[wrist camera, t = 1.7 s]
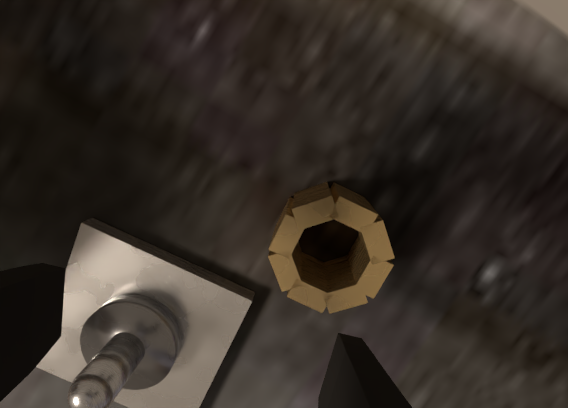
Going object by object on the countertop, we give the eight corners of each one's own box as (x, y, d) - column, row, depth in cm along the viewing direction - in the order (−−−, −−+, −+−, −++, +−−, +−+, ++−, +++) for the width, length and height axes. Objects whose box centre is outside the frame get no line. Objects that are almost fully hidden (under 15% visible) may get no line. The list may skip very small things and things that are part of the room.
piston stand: (255, 292, 19) (231, 367, 13) (191, 418, 22) (148, 531, 16) (92, 217, 19) (-6, 260, 13) (46, 354, 21) (-55, 445, 15)
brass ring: (393, 211, 18) (413, 231, 14) (347, 291, 19) (355, 328, 16) (303, 168, 18) (303, 178, 14) (262, 252, 19) (253, 281, 15)
